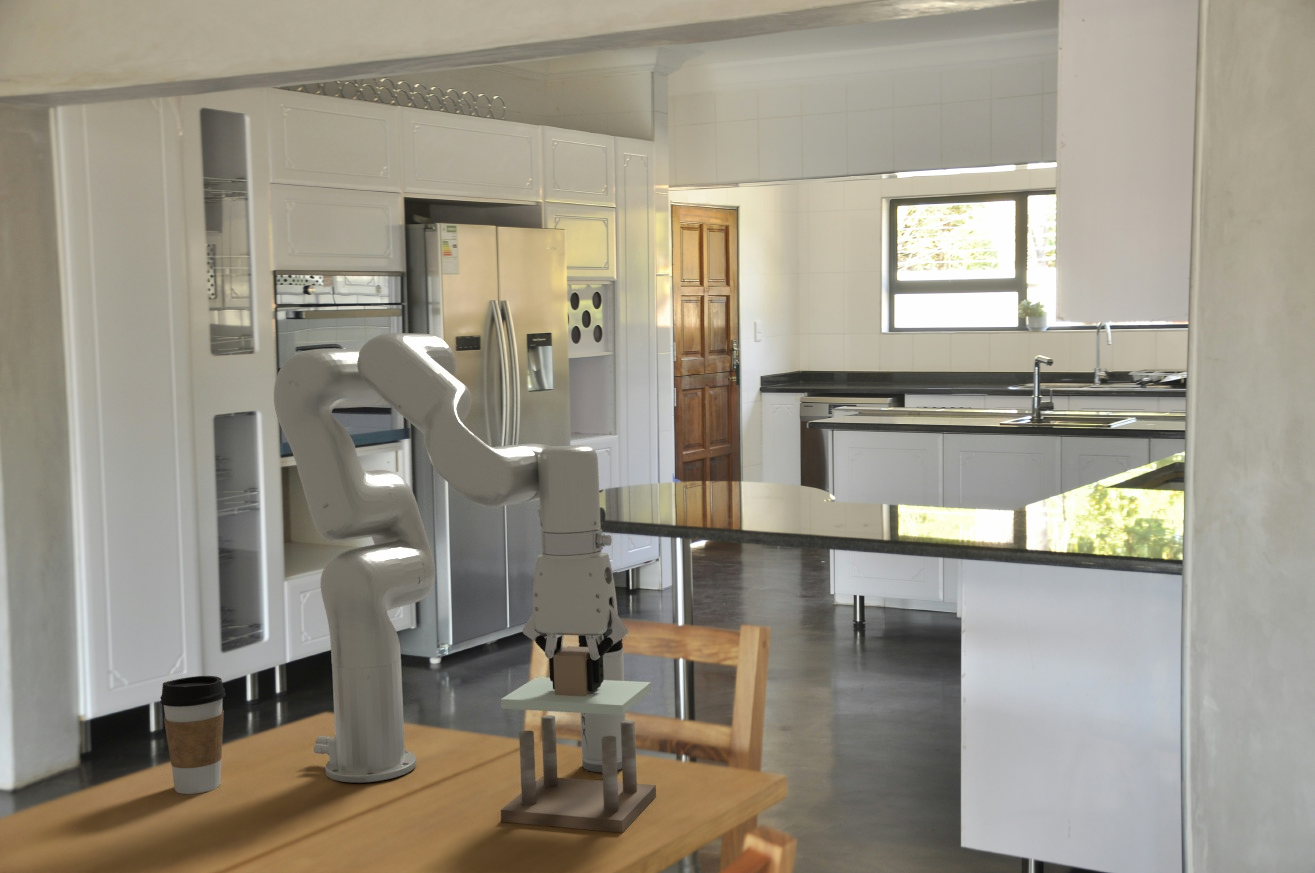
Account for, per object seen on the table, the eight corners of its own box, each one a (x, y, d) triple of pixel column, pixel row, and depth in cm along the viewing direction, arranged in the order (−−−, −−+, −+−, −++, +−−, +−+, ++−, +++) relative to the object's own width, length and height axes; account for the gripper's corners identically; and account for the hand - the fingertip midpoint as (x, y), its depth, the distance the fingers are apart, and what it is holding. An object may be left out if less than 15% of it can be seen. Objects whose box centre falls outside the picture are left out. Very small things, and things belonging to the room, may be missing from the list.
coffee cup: (151, 793, 169) (145, 684, 169) (195, 774, 177) (190, 670, 176) (199, 799, 166) (194, 688, 165) (243, 779, 174) (237, 673, 173)
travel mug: (629, 757, 178) (625, 619, 177) (624, 772, 172) (619, 629, 171) (586, 757, 179) (581, 620, 178) (579, 772, 173) (574, 629, 171)
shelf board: (501, 708, 155) (499, 659, 155) (536, 685, 165) (534, 639, 165) (622, 714, 150) (620, 663, 150) (651, 691, 160) (649, 643, 160)
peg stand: (501, 821, 155) (497, 738, 154) (542, 787, 167) (539, 709, 167) (622, 832, 150) (619, 746, 149) (656, 796, 162) (653, 716, 162)
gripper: (643, 540, 158) (649, 683, 159) (522, 539, 163) (528, 678, 164) (624, 549, 150) (629, 698, 151) (497, 547, 156) (504, 692, 157)
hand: (577, 686), depth 158 cm, fingers closed on shelf board, 4 cm apart
